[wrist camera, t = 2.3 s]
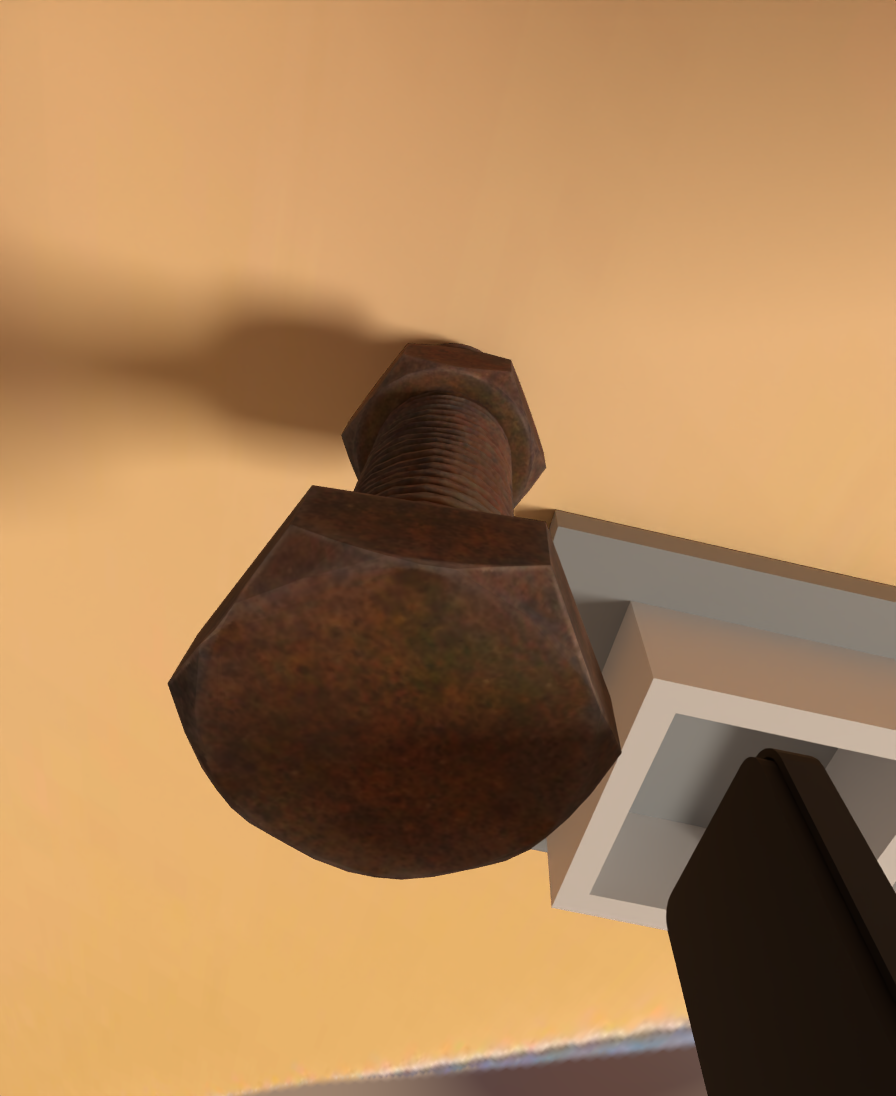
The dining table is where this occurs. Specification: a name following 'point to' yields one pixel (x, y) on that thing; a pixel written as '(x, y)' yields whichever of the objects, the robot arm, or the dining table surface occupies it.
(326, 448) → the dining table surface
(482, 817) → the bolt
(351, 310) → the dining table surface
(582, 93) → the dining table surface
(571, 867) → the board
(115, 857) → the dining table surface
